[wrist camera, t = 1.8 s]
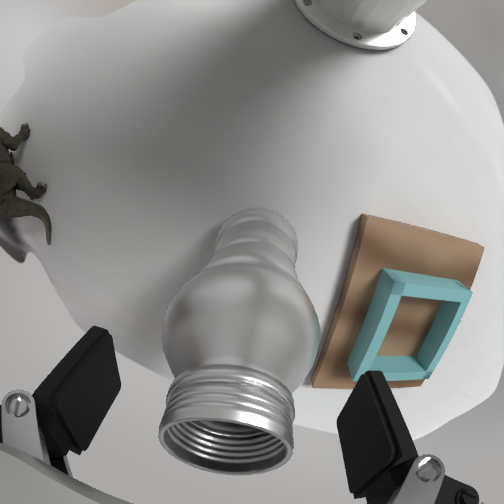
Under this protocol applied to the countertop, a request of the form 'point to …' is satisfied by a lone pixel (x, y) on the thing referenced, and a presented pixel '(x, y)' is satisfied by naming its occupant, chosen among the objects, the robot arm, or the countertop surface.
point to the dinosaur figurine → (18, 183)
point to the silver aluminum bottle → (239, 350)
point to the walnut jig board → (397, 304)
